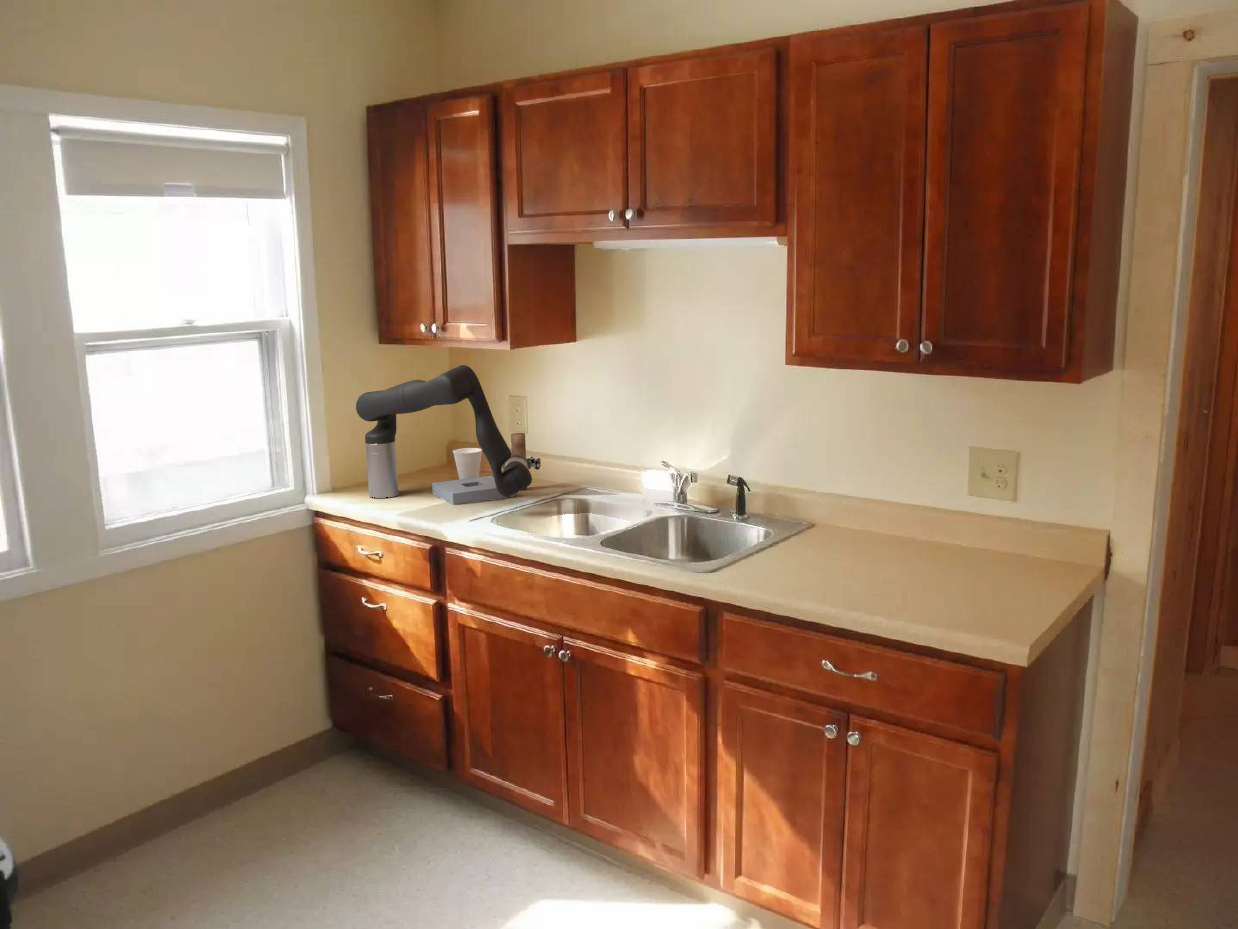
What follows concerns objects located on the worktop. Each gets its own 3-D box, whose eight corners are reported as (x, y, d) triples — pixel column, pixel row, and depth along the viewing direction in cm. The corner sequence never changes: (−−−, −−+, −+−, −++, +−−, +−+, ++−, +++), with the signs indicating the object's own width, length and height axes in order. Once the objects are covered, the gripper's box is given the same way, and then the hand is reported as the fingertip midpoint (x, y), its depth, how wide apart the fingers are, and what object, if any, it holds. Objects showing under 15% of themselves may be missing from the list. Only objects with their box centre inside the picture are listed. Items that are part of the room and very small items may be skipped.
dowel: (511, 488, 332) (508, 433, 328) (523, 487, 334) (521, 432, 330) (516, 491, 328) (514, 435, 324) (529, 489, 330) (527, 434, 327)
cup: (474, 478, 350) (472, 446, 348) (489, 482, 343) (488, 450, 341) (448, 482, 344) (446, 450, 342) (464, 487, 337) (462, 453, 335)
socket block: (432, 493, 327) (431, 482, 327) (491, 486, 337) (490, 475, 336) (453, 504, 310) (452, 493, 309) (514, 496, 319) (514, 485, 319)
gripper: (539, 456, 310) (540, 447, 326) (491, 458, 309) (495, 449, 325) (540, 481, 311) (541, 471, 327) (492, 482, 311) (496, 472, 326)
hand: (518, 460), depth 326 cm, fingers open, 8 cm apart
